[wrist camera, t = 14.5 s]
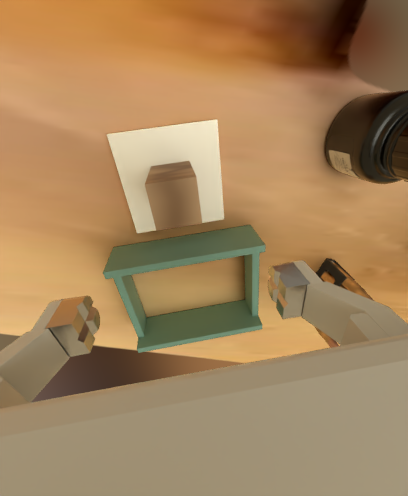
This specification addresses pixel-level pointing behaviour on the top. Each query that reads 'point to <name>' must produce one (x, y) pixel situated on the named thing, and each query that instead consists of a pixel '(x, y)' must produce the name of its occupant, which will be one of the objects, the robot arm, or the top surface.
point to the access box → (180, 254)
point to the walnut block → (173, 195)
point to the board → (165, 152)
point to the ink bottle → (371, 138)
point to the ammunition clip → (340, 278)
